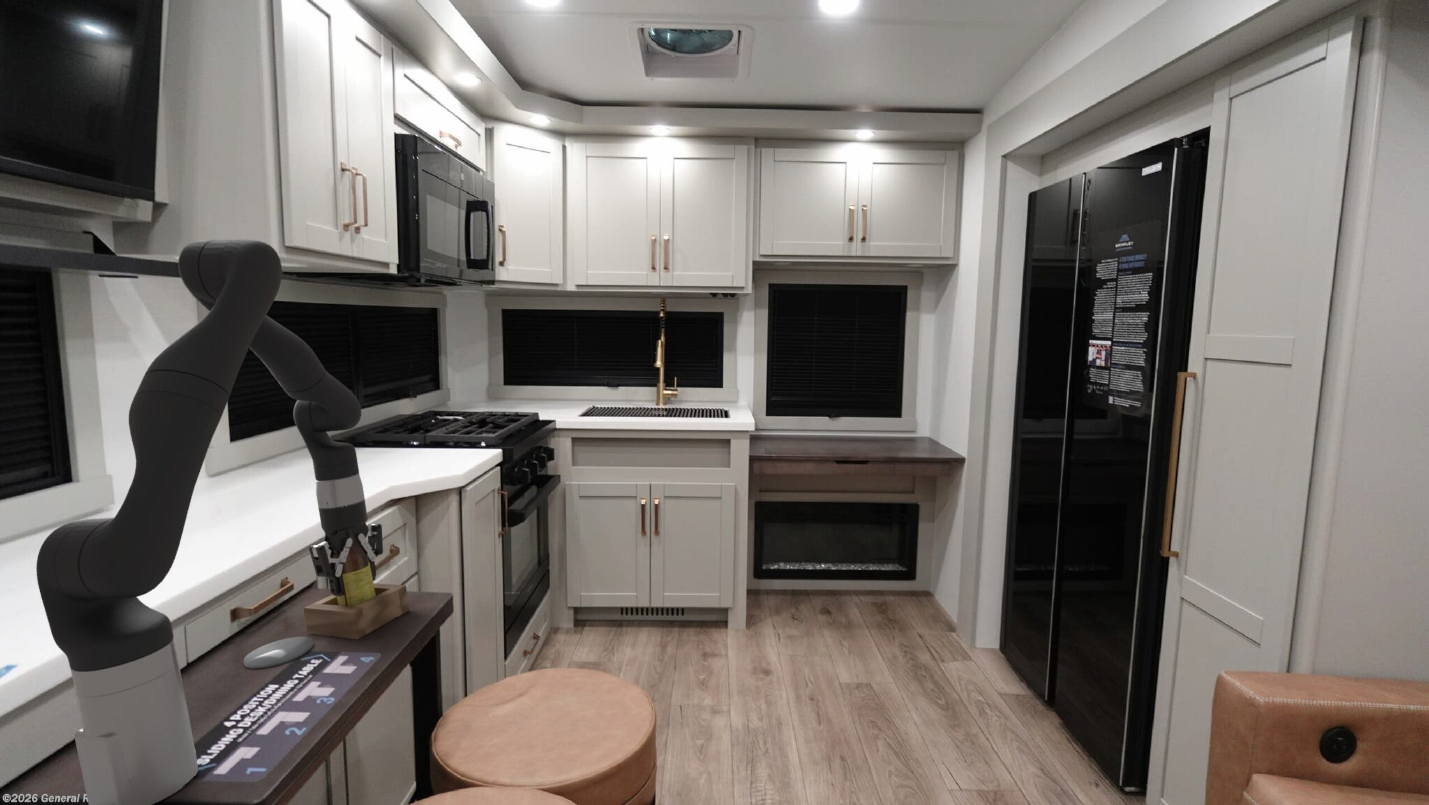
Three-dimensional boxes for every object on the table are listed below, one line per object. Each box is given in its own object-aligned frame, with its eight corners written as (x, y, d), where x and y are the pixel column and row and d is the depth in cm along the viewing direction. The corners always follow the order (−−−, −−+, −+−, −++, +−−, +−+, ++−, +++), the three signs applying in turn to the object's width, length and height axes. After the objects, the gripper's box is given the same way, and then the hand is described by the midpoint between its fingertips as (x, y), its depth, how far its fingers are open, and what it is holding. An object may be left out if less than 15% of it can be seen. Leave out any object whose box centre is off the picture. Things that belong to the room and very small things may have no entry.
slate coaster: (272, 671, 108) (271, 668, 108) (229, 665, 112) (229, 662, 112) (326, 642, 118) (326, 639, 117) (285, 638, 121) (285, 634, 121)
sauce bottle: (386, 613, 128) (371, 513, 126) (366, 628, 122) (350, 523, 120) (354, 615, 129) (338, 515, 127) (332, 630, 123) (316, 525, 120)
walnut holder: (357, 639, 118) (353, 612, 117) (307, 634, 122) (303, 608, 121) (409, 610, 129) (405, 585, 128) (362, 606, 133) (358, 582, 132)
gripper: (321, 512, 115) (336, 605, 117) (388, 490, 128) (400, 574, 130) (290, 511, 117) (305, 603, 119) (358, 490, 131) (371, 572, 133)
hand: (355, 587), depth 125 cm, fingers closed on sauce bottle, 6 cm apart
